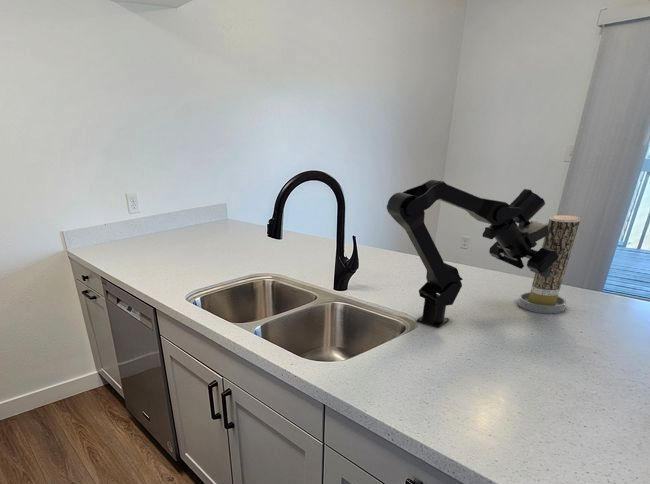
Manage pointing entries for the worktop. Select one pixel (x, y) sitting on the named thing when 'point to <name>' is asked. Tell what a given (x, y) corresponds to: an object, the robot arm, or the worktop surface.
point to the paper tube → (562, 242)
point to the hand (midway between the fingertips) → (534, 272)
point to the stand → (541, 308)
